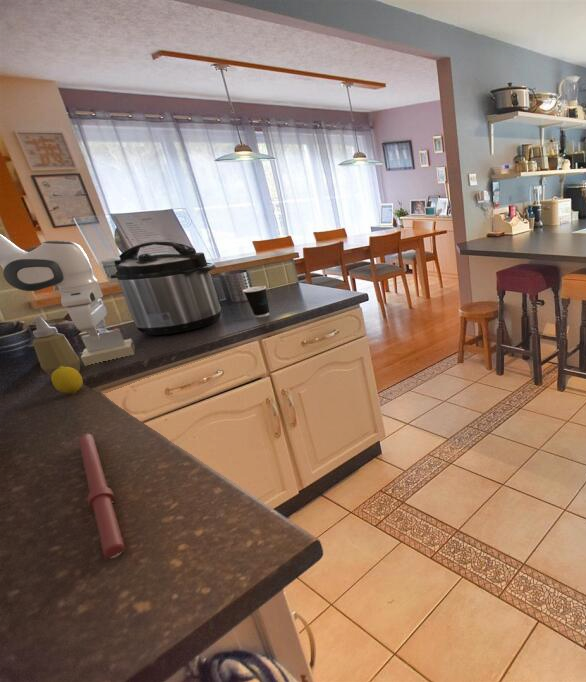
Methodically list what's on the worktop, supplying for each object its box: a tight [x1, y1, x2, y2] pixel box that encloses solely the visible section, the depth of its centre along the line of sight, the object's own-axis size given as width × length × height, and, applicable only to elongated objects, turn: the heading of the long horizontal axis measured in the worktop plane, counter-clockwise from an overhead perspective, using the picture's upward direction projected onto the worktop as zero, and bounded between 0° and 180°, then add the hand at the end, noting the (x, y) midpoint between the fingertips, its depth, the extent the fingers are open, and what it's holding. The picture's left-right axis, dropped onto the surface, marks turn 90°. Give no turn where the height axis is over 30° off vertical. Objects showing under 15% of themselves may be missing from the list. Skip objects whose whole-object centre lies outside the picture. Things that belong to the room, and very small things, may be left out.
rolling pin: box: [78, 433, 126, 559], centre depth 76 cm, size 45×3×3 cm, turn 47°
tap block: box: [79, 338, 136, 367], centre depth 140 cm, size 13×13×3 cm
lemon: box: [50, 366, 84, 395], centre depth 114 cm, size 6×6×8 cm
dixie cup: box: [242, 285, 270, 319], centre depth 170 cm, size 8×8×11 cm
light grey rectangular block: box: [81, 327, 125, 352], centre depth 139 cm, size 9×2×5 cm, turn 123°
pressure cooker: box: [110, 241, 222, 336], centre depth 162 cm, size 30×28×32 cm
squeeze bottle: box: [32, 316, 81, 377], centre depth 125 cm, size 8×8×18 cm
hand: (100, 336), depth 138 cm, fingers open, 8 cm apart
